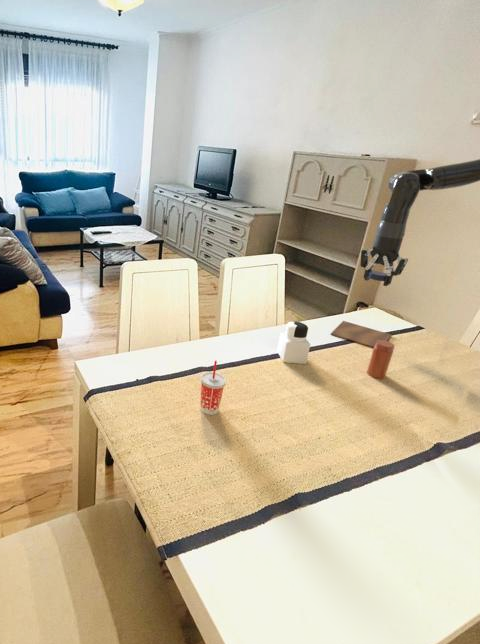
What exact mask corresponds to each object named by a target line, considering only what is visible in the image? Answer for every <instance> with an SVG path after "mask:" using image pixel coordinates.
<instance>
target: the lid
mask: <svg viewBox="0 0 480 644" xmlns="http://www.w3.org/2000/svg"><path fill="white" fill-rule="evenodd" d="M386 275H387V272H384V271H378V270H372V271H369V274H368V278H370V279H369V280H373V281H378V282H384V280H385V277H386Z"/></svg>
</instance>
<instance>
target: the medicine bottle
mask: <svg viewBox="0 0 480 644" xmlns="http://www.w3.org/2000/svg"><path fill="white" fill-rule="evenodd" d="M285 329H286V330H285V332H280V334H279V339H278V344H277V347H276V352H277V354H278V356H279V358H280V360H281V361H282V362H283V363H285V364H288V363H289V364H299V365H301V364H302V365H306V364H307V361H308V357H309V353H310V349H311V343H310V342H309V340H308V339H307V336H308V331H309V327H308V325H307V324H305V323H303V322H301V321H289V322H287V324H286V328H285Z"/></svg>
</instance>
